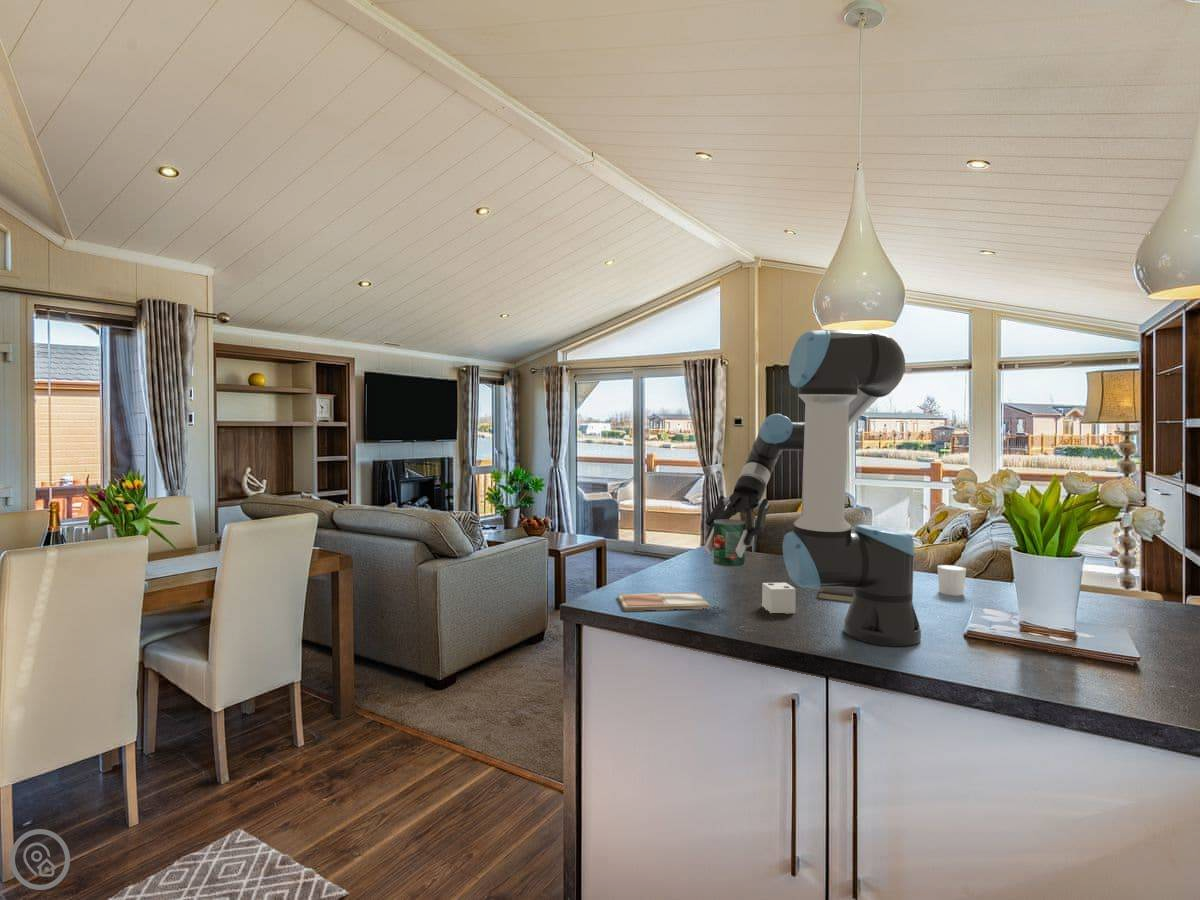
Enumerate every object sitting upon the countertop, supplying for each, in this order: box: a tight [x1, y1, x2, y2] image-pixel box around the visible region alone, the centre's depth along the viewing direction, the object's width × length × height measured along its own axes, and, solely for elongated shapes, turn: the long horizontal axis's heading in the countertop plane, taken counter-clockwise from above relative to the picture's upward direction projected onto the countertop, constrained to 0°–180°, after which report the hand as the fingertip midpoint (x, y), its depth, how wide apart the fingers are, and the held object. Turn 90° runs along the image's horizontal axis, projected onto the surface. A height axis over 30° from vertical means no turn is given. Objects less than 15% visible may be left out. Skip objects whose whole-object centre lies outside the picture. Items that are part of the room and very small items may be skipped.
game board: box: [617, 591, 711, 612], centre depth 161 cm, size 12×21×1 cm, turn 96°
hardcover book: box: [816, 587, 854, 603], centre depth 174 cm, size 16×23×2 cm
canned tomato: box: [713, 518, 746, 569], centre depth 162 cm, size 8×8×11 cm
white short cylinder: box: [937, 564, 967, 597], centre depth 173 cm, size 7×7×7 cm
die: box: [761, 582, 797, 614], centre depth 156 cm, size 6×6×6 cm
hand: (722, 551), depth 160 cm, fingers closed on canned tomato, 8 cm apart
